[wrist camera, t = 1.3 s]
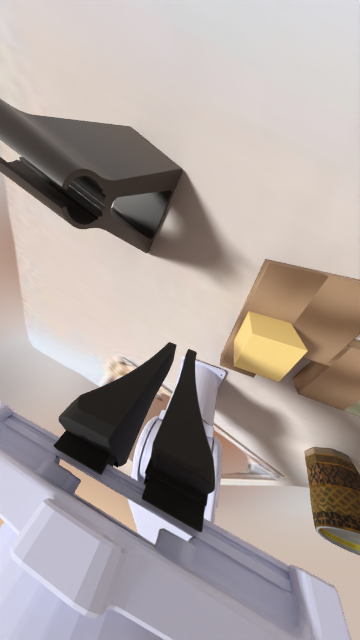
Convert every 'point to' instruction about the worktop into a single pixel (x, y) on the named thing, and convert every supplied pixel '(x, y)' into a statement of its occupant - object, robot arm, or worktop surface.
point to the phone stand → (91, 173)
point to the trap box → (311, 328)
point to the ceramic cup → (334, 497)
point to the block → (267, 346)
